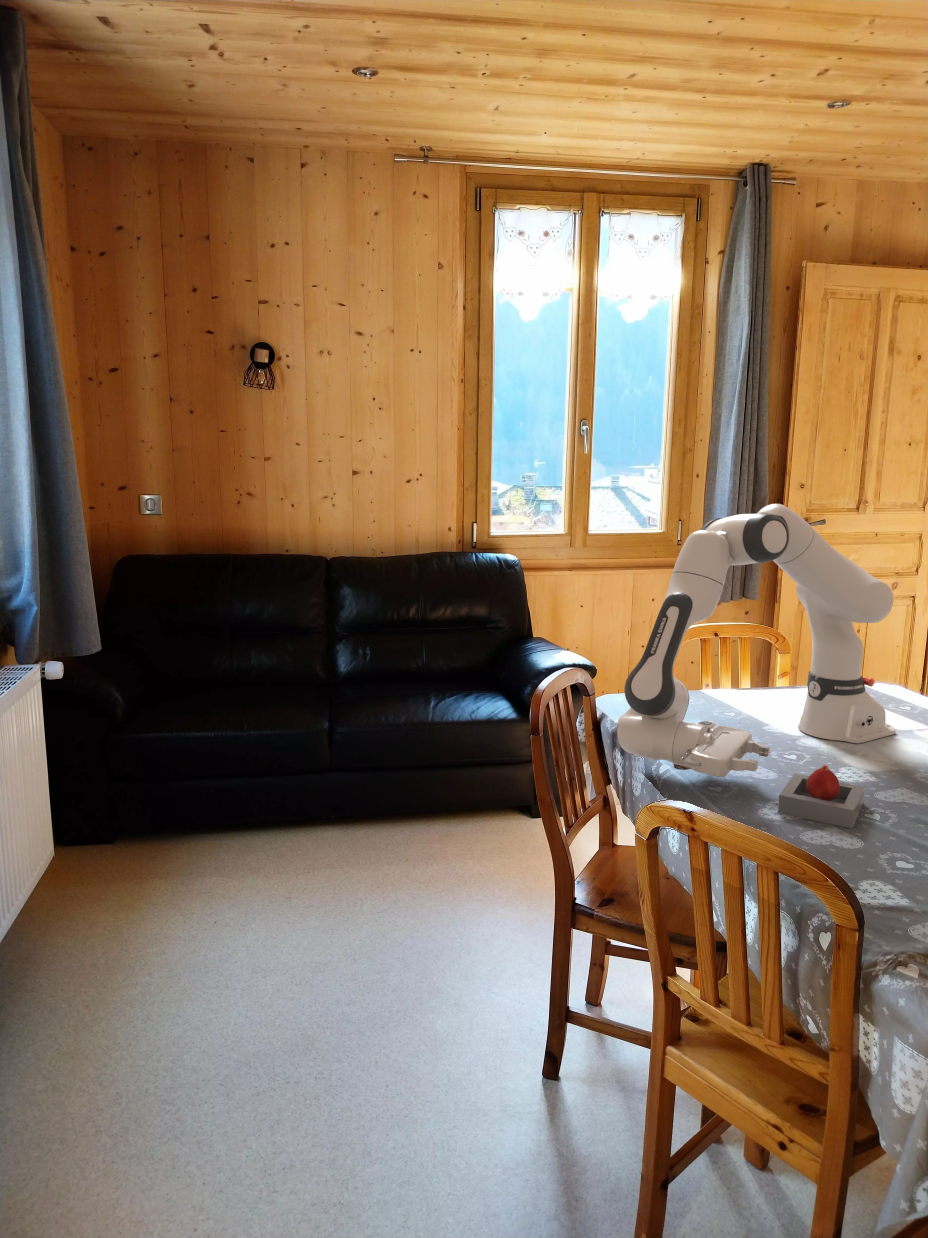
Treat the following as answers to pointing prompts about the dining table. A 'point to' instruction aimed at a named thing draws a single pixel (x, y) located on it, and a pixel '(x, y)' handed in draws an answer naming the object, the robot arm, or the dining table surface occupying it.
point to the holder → (821, 803)
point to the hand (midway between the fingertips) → (763, 759)
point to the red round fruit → (823, 784)
